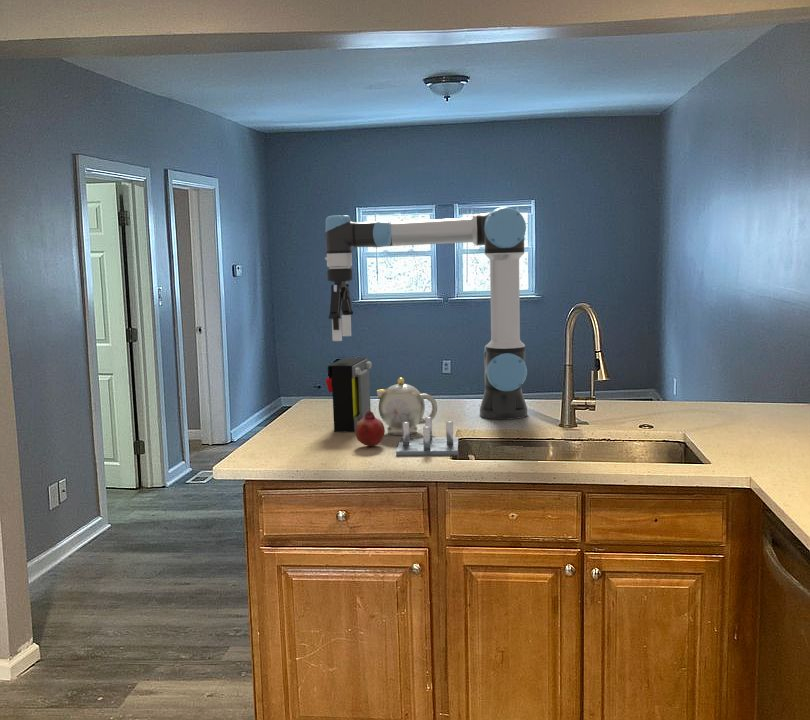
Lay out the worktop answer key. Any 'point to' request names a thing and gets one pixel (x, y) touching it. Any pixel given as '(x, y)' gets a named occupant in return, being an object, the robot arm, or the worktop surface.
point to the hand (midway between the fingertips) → (342, 338)
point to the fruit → (370, 430)
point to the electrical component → (349, 392)
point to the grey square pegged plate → (428, 442)
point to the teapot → (403, 407)
